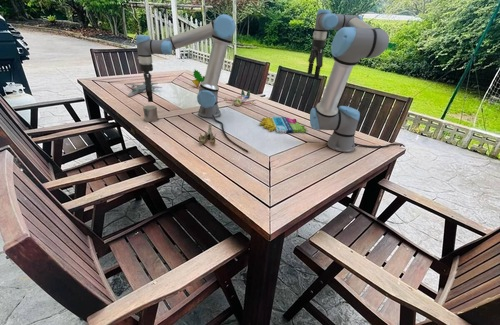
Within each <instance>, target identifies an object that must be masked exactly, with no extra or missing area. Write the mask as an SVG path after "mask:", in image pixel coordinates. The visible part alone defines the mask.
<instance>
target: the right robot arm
mask: <svg viewBox="0 0 500 325" xmlns="http://www.w3.org/2000/svg"><path fill="white" fill-rule="evenodd" d="M314 23H315V24H314V31H313V32H312V38H313V39H312V40H311V41H312V42H311V46H312V47H311V51H310V54H309V57H308V60H307V62H308V68H307V75H312V74H313V69H314V64H315V63H316V64H315V70H314V75H313V79H314V80H315V79H319V78H320V73H321V68H323V67H324V66H323V65H324V64H323V62H324V61H323V60H324V49H322V48H325V46H326V39H327V35H328V31H330V30H333V31H335V30H336V31H337V32H336V34H335V35H334V37H333V39H332V42H331V47H330V53H331V55H332V60H333V61H334V62H333V66H332V67H331V71H330V74H329V76H328V79H327V82H326V85H325V87H324V88H325V89H324V91H323V95H322V96H321V101H319V102H318V103H317V104H316V106H315V107H312V108H311V109H310V111H309V123H310V124H309V125H310V127H311V129H313V130H317V131H332V134H331V135H330V136H329V138H328V140H327V144H326V145H327V147H328V148H329V149H331V150H333V151H336V152H339V153H352V152H354V150H355V147H356V146H359V147H364V148H373V149H374V148H375V149H377V148H388V147H390V146H398V145H399V146H402V147H404V148H406V145H405V144H403V143H402V142H401V143H399V142H398V143H397V142H396V143H395V142H394V143H389V144H386V145H367V144H360V143H357V142H355V135H356V131H357V128H358V126H359V125H358V124H359V121H360V117H361V112H360V111H359V110H358V109H356V108H354V107H351V106H347V105H339V104H340V103H339V102H340V100H341V97H342V95H343V93H344V90H345V88H346V85H347V83H348V81H349V78H350V75H351V73H352V70H353V69H354V67H356V66H357V65H359V62H360V60H361V59H374V58H377V57H379V56H380V55H382V54H383V53H384V52H385V51H386V50H387V48H388V46H389V44H390V36H389V34H388V33H387V31H386V30H384V29H382V28H380V27H374V26H372V25H370V24H369V23H368V22H365V21H364V17H363V16H362V15H358V14H342V13H332V11H331V9H328V8H327V9H325V8H318V9H317V12H316V15H315V22H314ZM338 105H339V107H338Z"/></svg>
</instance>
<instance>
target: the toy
mask: <svg viewBox="0 0 500 325" xmlns="http://www.w3.org/2000/svg"><path fill="white" fill-rule="evenodd" d="M240 92H241V93H240V95H238V96H237V97H235V99H233V98H230V99H228V98H227V97H226V96H225V97H224V98H223V101H224V102H233V103H232V104H233V105H235V106H242V103H243V104H247V105H252V106H255V105H256V104H257V103H256V102H254V101H253V100H252V101H251V102H250V101H248V100H246V99H248V98H250V97H251V90H250V89H249V90H248V91H247V92H246V93H245V91H244V89H242V90H241V91H240Z"/></svg>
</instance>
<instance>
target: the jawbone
mask: <svg viewBox="0 0 500 325" xmlns="http://www.w3.org/2000/svg"><path fill="white" fill-rule="evenodd" d="M212 126H213V124H212V123H209V124H208V126H207V127H208V129H207V131H205V132H204V134H203V135H202V133H201V132H198V133H199V136H198V142H199V143H198V145H200V146H202V145H204V143H206V142H207V141H210V143H211V145H212V146H216V141H217V140H216V134H213V130H212Z"/></svg>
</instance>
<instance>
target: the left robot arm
mask: <svg viewBox="0 0 500 325" xmlns="http://www.w3.org/2000/svg"><path fill="white" fill-rule="evenodd" d="M235 31H236V22H235V20H234V19H233V17H232V16H231V15H229V14H226V13H224V14H220V15H218V16H217V17H216V18H215V19H213V20H211V21H209V23H207V24H204V25H201V26H198V27H196V28H192V29H189V30H187V31H183V32H180V33H178V34H175V35H172V36H168V37H165V38H163V39H152V38H151V37H150V36H149V35H146V34H137V35H136V36H135V41H136V43H135V44H136V49H137V56H138V57H137V60H138V63H139V64H138V67H139V71H140V72H143V73H142V74H143V78H144V82H145V85H146V92H145V93H146V97H147V102H148V103H154V98H153V90H152V89H153V88H152V87H151V83H152V82H151V81H152V77H151V75H152V74H151V73H150V72H152V71H153V70H154V65H153V56H152V55H164V56H170V55H172V53H173V51H175V50H178V49H181V48H184V47H188V46H190V45H193V44H196V43H200V42H202V41H205V40H208V39H212V45H211V50H210V54H209V58H208V63H207V67H206V70H205V74H204V76H205V79H204V81H203V82H200V83H199V87H200V88H199V89H198V93H197V95H196V101H197V103H198V105H199V109H198V116H199V117H201V118H205V119H213V120H214V121H215V122H216V123H219V124H221V129H222V133H223V135H224V137H225V138H226V139H227V140H228V141H229V142H230V143H231V144H233V145H235V146H236V147H237V148H240V149H241V150H242V151H244V152H246V153H248V152H249V150H247V149H245V148H244V147H242V146H241V145H239V144H237V143H236V142H235V141H233V140H232V139H231V138H229V137H228V135H227V134H226V131H225V129H224V123H223V122H221V121H219V120H217V119H216V118H219V117H221V110H220V108H219V102H218V99H219V98H218V97H219V94H218V93H219V90H220V88H219V85H218V84H219V82H220V81H219V80H220V77H221V73H222V70H223V65H224V61H225V57H226V53H227V49H228V46H230V45H231V44H232V42H233V39H234V38H233V37H234V34H235Z"/></svg>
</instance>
